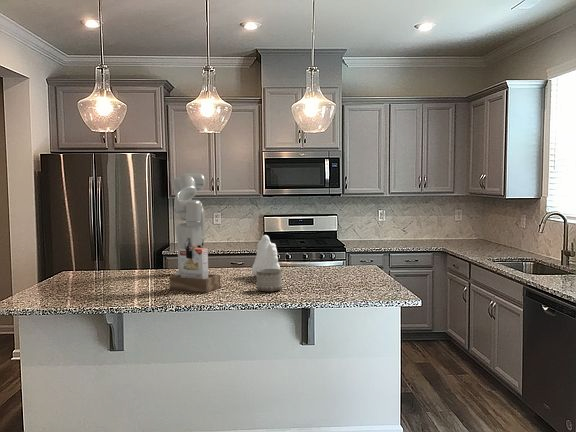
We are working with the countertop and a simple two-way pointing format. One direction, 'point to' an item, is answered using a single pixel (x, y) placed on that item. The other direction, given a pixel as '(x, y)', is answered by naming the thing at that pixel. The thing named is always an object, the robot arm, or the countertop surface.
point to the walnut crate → (195, 284)
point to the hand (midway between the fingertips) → (194, 257)
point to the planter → (268, 279)
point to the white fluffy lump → (265, 255)
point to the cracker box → (194, 263)
